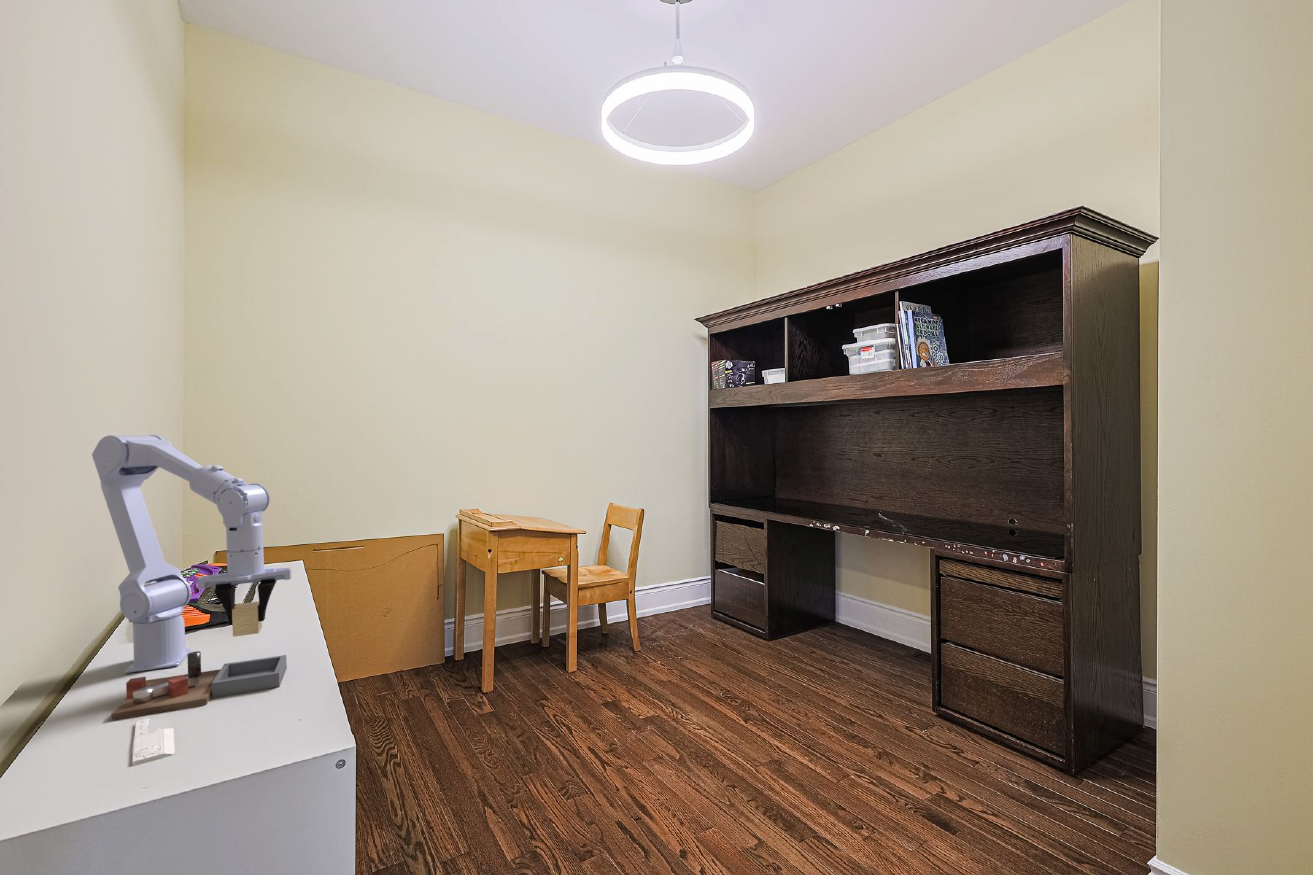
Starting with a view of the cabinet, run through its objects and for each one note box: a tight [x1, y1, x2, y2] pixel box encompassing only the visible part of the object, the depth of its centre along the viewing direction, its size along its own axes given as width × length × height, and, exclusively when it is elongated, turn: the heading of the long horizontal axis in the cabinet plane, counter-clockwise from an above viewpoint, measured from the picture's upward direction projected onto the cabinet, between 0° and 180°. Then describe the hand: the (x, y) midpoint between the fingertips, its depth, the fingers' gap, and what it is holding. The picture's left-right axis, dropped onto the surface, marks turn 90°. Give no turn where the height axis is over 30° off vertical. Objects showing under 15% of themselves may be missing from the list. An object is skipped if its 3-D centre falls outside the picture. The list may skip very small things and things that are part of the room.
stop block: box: [231, 601, 263, 637], centre depth 116 cm, size 4×4×5 cm
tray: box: [211, 654, 288, 699], centre depth 109 cm, size 10×10×2 cm
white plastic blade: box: [131, 718, 176, 766], centre depth 89 cm, size 5×15×1 cm, turn 38°
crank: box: [133, 650, 202, 703], centre depth 102 cm, size 9×3×5 cm, turn 147°
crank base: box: [111, 668, 221, 721], centre depth 104 cm, size 14×12×4 cm
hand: (247, 621), depth 116 cm, fingers closed on stop block, 4 cm apart
